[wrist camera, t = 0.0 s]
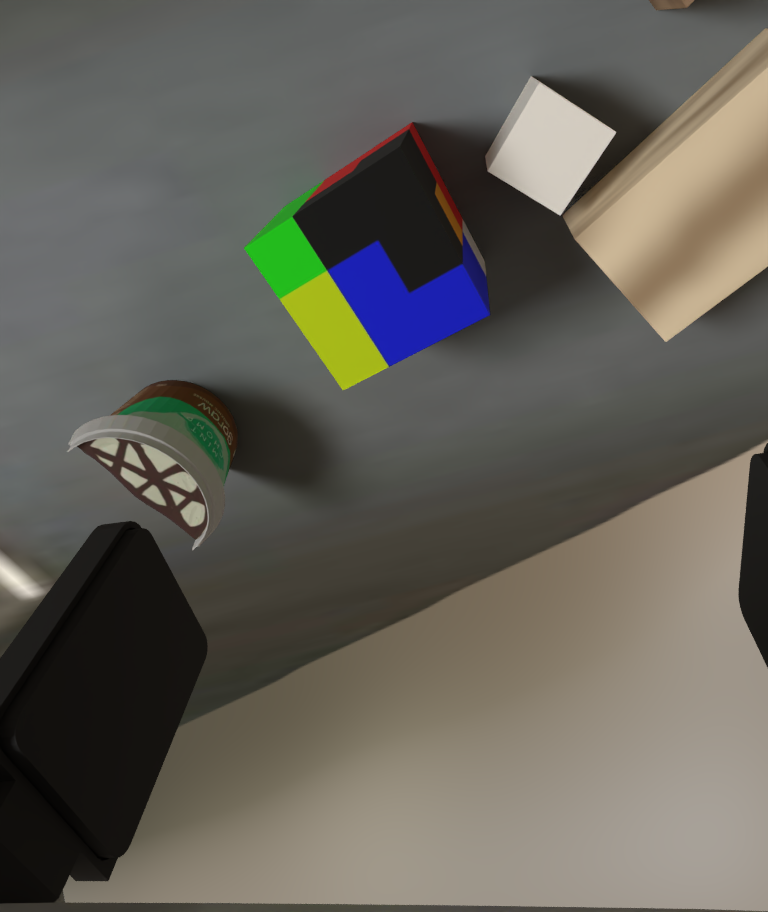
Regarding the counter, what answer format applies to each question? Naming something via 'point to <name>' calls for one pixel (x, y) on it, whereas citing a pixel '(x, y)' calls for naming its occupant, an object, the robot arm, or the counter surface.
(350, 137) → the counter surface
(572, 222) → the maple block
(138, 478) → the food container
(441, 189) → the puzzle toy
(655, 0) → the walnut block
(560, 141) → the offwhite cube
